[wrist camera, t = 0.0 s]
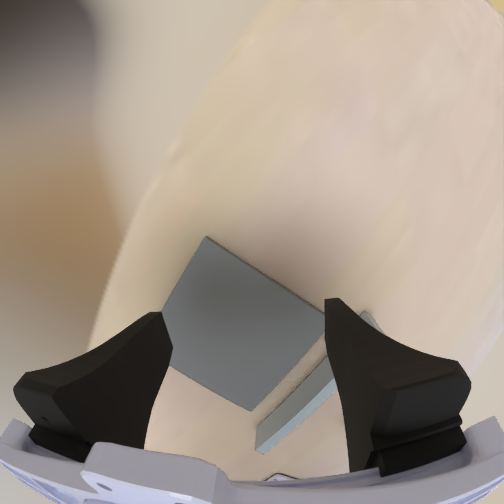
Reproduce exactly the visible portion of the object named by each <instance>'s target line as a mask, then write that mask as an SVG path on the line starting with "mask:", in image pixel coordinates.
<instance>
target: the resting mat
mask: <svg viewBox="0 0 504 504" xmlns="http://www.w3.org/2000/svg"><path fill="white" fill-rule="evenodd" d="M161 312H162V315H163V318H164V321H165V324H166V327H167V330H168V333H169V336H170V339H171V342H172V344H173V351H172V355H171V360H170V363H169V365H170V366H171V367H173V368H174V369H176V370H178V371H179V372H181V373H182V374H184V375H186V376H187V377H189V378H191V379H192V380H194V381H196V382H197V383H199V384H201V385H202V386H204V387H206V388H208V389H209V390H211V391H213V392H215V393H216V394H218V395H220V396H222V397H224V398H225V399H227V400H229V401H231V402H233V403H235V404H237V405H239V406H241V407H242V408H244V409H246V410H248V411H250V412H251V411H252V410H253V409H254V408H255V407H256V406H257V405H258V404H259V403H260V402H261V401H262V400H263V399H264V398H265V397H266V396H267V395H268V394H269V393H270V392H271V391H272V390H273V389H274V388H275V387H276V386H277V385H278V384H279V382H280V381H281V380H282V379H283V378H284V377H285V376H286V375H287V374H288V373H289V372H290V371H291V369H292V368H293V367H294V366H295V365H296V364H297V363H298V362H299V361H300V359H301V358H302V357H303V356H304V355H305V354H306V353H307V351H308V350H309V349H310V348H311V347H312V346H313V344H314V343H315V342H316V341H317V340H318V338H319V337H320V336H321V335H322V334H323V332H324V331H325V314H324V313H323V312H321V311H320V310H318V309H317V308H315V307H314V306H312V305H311V304H309V303H307V302H306V301H304V300H303V299H301V298H300V297H298V296H297V295H295V294H294V293H292V292H291V291H289V290H287V289H286V288H284V287H283V286H281V285H280V284H278V283H277V282H275V281H274V280H272V279H271V278H269V277H268V276H266V275H264V274H263V273H261V272H260V271H258V270H257V269H255V268H254V267H252V266H251V265H249V264H248V263H246V262H245V261H243V260H242V259H240V258H239V257H237V256H236V255H234V254H233V253H231V252H230V251H228V250H227V249H225V248H224V247H222V246H220V245H219V244H217V243H216V242H214V241H213V240H211V239H210V238H208V237H207V236H206V237H205V238H204V240H203V241H202V243H201V245H200V246H199V248H198V250H197V251H196V253H195V254H194V256H193V258H192V259H191V261H190V263H189V264H188V266H187V268H186V269H185V271H184V273H183V275H182V276H181V278H180V280H179V281H178V283H177V285H176V286H175V288H174V290H173V292H172V293H171V295H170V297H169V298H168V300H167V302H166V304H165V305H164V307H163V309H162V311H161Z"/></svg>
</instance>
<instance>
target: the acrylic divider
mask: <svg viewBox="0 0 504 504" xmlns="http://www.w3.org/2000/svg"><path fill="white" fill-rule="evenodd" d="M360 317H361V318H362V319H363V320H364V321H366V322H367V323H368V324H370V325H371V326H373V327H374V328H375V329H377V330H378V331H380V332H381V333H383V334H384V332H383V331H382V330H381V328H380V327H379V325H378V324H377V323H376V321H375V320H374V318H373V317H372V316H371V315H369V314H368V313H366V312H365V311H364V312H363V313H362V314H361V316H360ZM384 335H385V334H384ZM336 390H337V385H336V382H335V379H334V375H333V372H332V369H331V365H330V362H329V359H328V355H327V356H326V357H325V358H324V360H323V361H322V362H321V363H320V364H319V365H318V366H317V367H316V368H315V369H314V371H313V372H312V373H311V374H310V375H309V376H308V377H307V378H306V379H305V380H304V381H303V382H302V383H301V384H300V385H299V386H298V387H297V388H296V390H295V391H294V392H293V393H292V394H291V395H290V396H289V397H288V398H287V399H286V400H285V401H284V402H283V403H282V404H281V405H280V406H278V407H277V408H276V409H275V410H274V411H273V412H272V413H271V414H270V415H269V416H268V417H267V418H266V419H265V420H264V421H263V422H262V423H261V424H259V425H258V426H257V433H256V442H255V451H257V452H259V453H262V454H264V453H266V452H267V451H268V450H269V449H271V448H272V447H273V446H274V445H276V444H277V443H278V442H279V441H281V440H282V439H283V438H284V437H285V436H287V435H288V434H289V433H290V432H291V431H293V430H294V429H295V428H296V427H297V426H298V425H299V424H301V423H302V422H303V421H304V420H305V419H306V418H307V417H308V416H309V415H311V414H312V413H313V412H314V411H315V410H316V409H317V408H318V407H319V406H320V405H321V404H322V403H323V402H324V401H325V400H326V399H328V398H329V397H330V396H331V395H332V394H333V393H334V392H335V391H336Z"/></svg>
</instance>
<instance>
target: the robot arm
mask: <svg viewBox="0 0 504 504" xmlns="http://www.w3.org/2000/svg"><path fill="white" fill-rule="evenodd" d="M324 300H325V342H326V348H327V354H328V359H329V362H330V365H331V369H332V372H333V375H334V379H335V382H336V385H337V389H338V392H339V395H340V400H341V404H342V410H343V416H344V423H345V431H346V438H347V447H348V457H349V470H350V473H346V474H340V475H333V476H326V477H318V478H308V479H297V480H296V479H293V478H290V477H287V476H284V475H281V474H276V475H274V476H273V477H271V478H270V479H268V480H267V481H230V480H229V478H228V476H227V475H226V474H225V473H224V472H223V471H222V470H221V469H219V468H218V467H217V466H216V465H214V464H211V463H209V462H206V461H204V460H202V459H199V458H193V457H189V456H184V455H177V454H169V453H162V452H155V451H149V450H144V444H145V438H146V433H147V428H148V423H149V419H150V415H151V411H152V407H153V404H154V401H155V399H156V396H157V394H158V391H159V389H160V387H161V384H162V382H163V379H164V377H165V374H166V372H167V369H168V367H169V363H170V360H171V355H172V351H173V344H172V342H171V339H170V336H169V333H168V330H167V327H166V324H165V321H164V318H163V315H162V312H149V313H147V314H146V315H144V316H143V317H141V318H140V319H138V320H137V321H135V322H134V323H132V324H131V325H130V326H128V327H127V328H125V329H124V330H123V331H121V332H120V333H118V334H117V335H115V336H114V337H112V338H111V339H109V340H108V341H106V342H105V343H103V344H102V345H100V346H98V347H97V348H95V349H93V350H91V351H89V352H87V353H85V354H83V355H81V356H79V357H76V358H74V359H72V360H70V361H67V362H65V363H61V364H59V365H56V366H52V367H49V368H45V369H41V370H35V371H31V372H26V373H25V374H24V375H23V376H22V377H21V379H20V380H19V381H18V382H17V383H16V385H15V386H14V388H13V391H14V395H15V397H16V400H17V401H18V403H19V404H20V406H21V407H22V408H23V410H24V411H25V412H26V413H27V415H28V416H29V417H30V418H31V420H32V421H33V422H34V423H35V425H34V427H33V428H31V427H30V426H29V425H27V424H25V423H23V422H21V421H18V420H16V419H12V421H11V422H10V424H9V425H8V427H7V428H6V430H5V431H4V433H3V434H2V436H1V437H0V463H1V464H2V465H3V466H4V467H5V468H6V469H7V470H8V471H9V472H11V473H12V474H13V475H14V476H15V477H16V478H18V479H19V480H20V481H21V482H22V483H23V484H25V485H26V486H28V487H30V488H31V489H33V490H35V491H36V492H38V493H40V494H41V495H43V496H45V497H46V498H48V499H50V500H52V501H54V502H55V503H57V504H473V503H475V502H477V501H479V500H480V499H482V498H484V497H485V496H487V495H488V494H489V493H491V492H492V491H493V490H494V489H495V488H497V487H498V486H499V485H500V484H501V483H502V482H503V481H504V432H503V430H502V429H501V427H500V425H499V423H498V422H497V419H496V418H495V416H492V417H490V418H488V419H486V420H484V421H481V422H479V423H477V424H475V425H473V426H471V427H469V428H468V429H466V430H465V431H464V432H462V430H461V427H460V425H461V424H462V419H461V417H460V415H459V413H460V411H461V409H462V407H463V405H464V404H465V402H466V400H467V397H468V395H469V392H470V390H471V381H470V379H469V377H468V376H467V374H466V372H465V371H464V369H463V368H462V366H461V365H460V364H459V362H458V361H455V360H450V359H446V358H441V357H436V356H433V355H430V354H426V353H423V352H420V351H418V350H415V349H412V348H410V347H408V346H405V345H403V344H401V343H399V342H397V341H395V340H393V339H391V338H390V337H388V336H386V335H384V334H383V333H381V332H380V331H378V330H377V329H375V328H374V327H373V326H371V325H370V324H368V323H367V322H366V321H364V320H363V319H362V318H361V317H360V316H358V315H357V314H356V313H355V312H354V311H353V310H352V309H351V308H349V307H348V306H347V305H346V304H345V303H344V302H343V301H342V300H341V299H340V298H331V299H324Z"/></svg>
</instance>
